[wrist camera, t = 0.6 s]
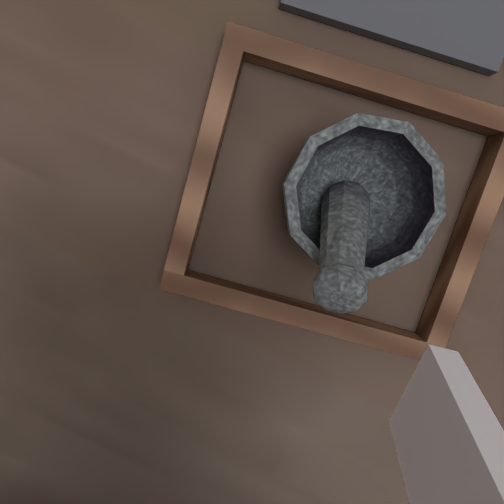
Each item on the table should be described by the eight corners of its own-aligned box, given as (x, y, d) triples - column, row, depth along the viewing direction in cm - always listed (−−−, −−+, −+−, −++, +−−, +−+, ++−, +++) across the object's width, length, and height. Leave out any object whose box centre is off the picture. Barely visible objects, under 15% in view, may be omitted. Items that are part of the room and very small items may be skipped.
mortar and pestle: (317, 106, 29) (366, 50, 17) (425, 167, 30) (543, 154, 18) (246, 240, 30) (245, 273, 19) (350, 295, 31) (413, 360, 19)
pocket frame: (426, 354, 32) (438, 365, 30) (164, 282, 31) (158, 289, 29) (514, 122, 29) (533, 117, 27) (229, 32, 28) (227, 20, 26)
